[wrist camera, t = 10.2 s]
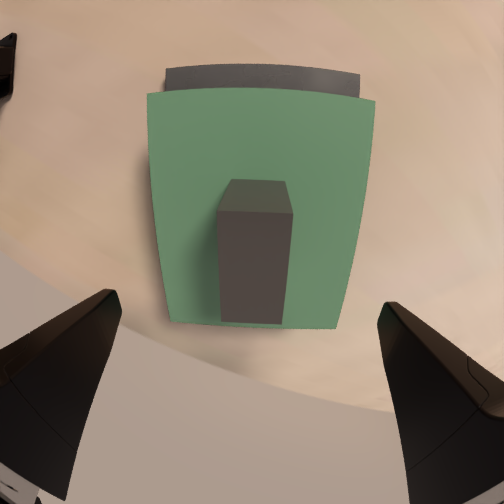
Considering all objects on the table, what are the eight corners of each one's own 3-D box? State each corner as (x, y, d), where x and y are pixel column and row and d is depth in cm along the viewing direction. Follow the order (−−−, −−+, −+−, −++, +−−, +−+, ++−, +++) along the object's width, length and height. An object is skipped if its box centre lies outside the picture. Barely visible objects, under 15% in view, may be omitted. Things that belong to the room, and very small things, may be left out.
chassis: (185, 298, 24) (173, 330, 20) (170, 70, 15) (147, 62, 12) (326, 304, 23) (334, 337, 20) (355, 76, 15) (377, 69, 11)
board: (175, 310, 19) (151, 372, 14) (155, 94, 13) (99, 92, 8) (332, 317, 19) (348, 382, 14) (367, 101, 12) (420, 101, 7)
